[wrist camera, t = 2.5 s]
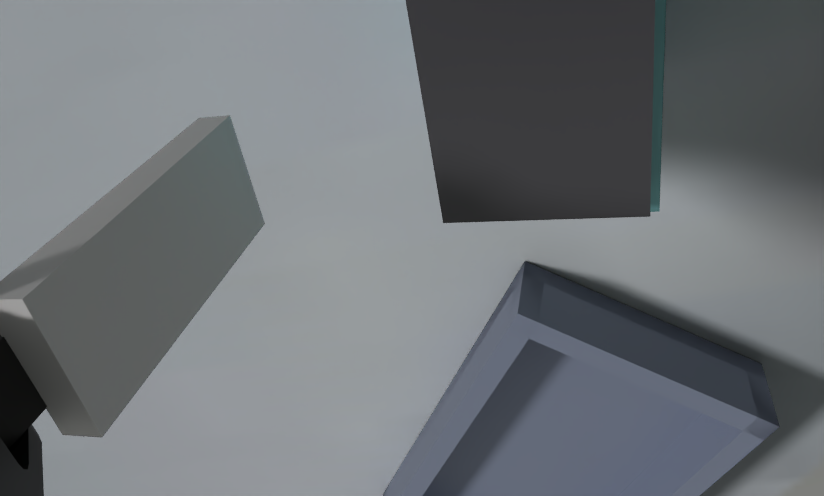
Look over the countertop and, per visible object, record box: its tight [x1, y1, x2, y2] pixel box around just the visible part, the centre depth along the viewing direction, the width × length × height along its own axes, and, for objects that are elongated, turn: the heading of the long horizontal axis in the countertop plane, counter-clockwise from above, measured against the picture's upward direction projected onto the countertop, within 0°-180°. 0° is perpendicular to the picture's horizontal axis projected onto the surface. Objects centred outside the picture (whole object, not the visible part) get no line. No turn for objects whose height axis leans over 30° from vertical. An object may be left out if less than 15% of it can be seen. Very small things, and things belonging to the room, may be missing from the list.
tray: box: [383, 261, 780, 496], centre depth 29 cm, size 17×10×3 cm, turn 160°
